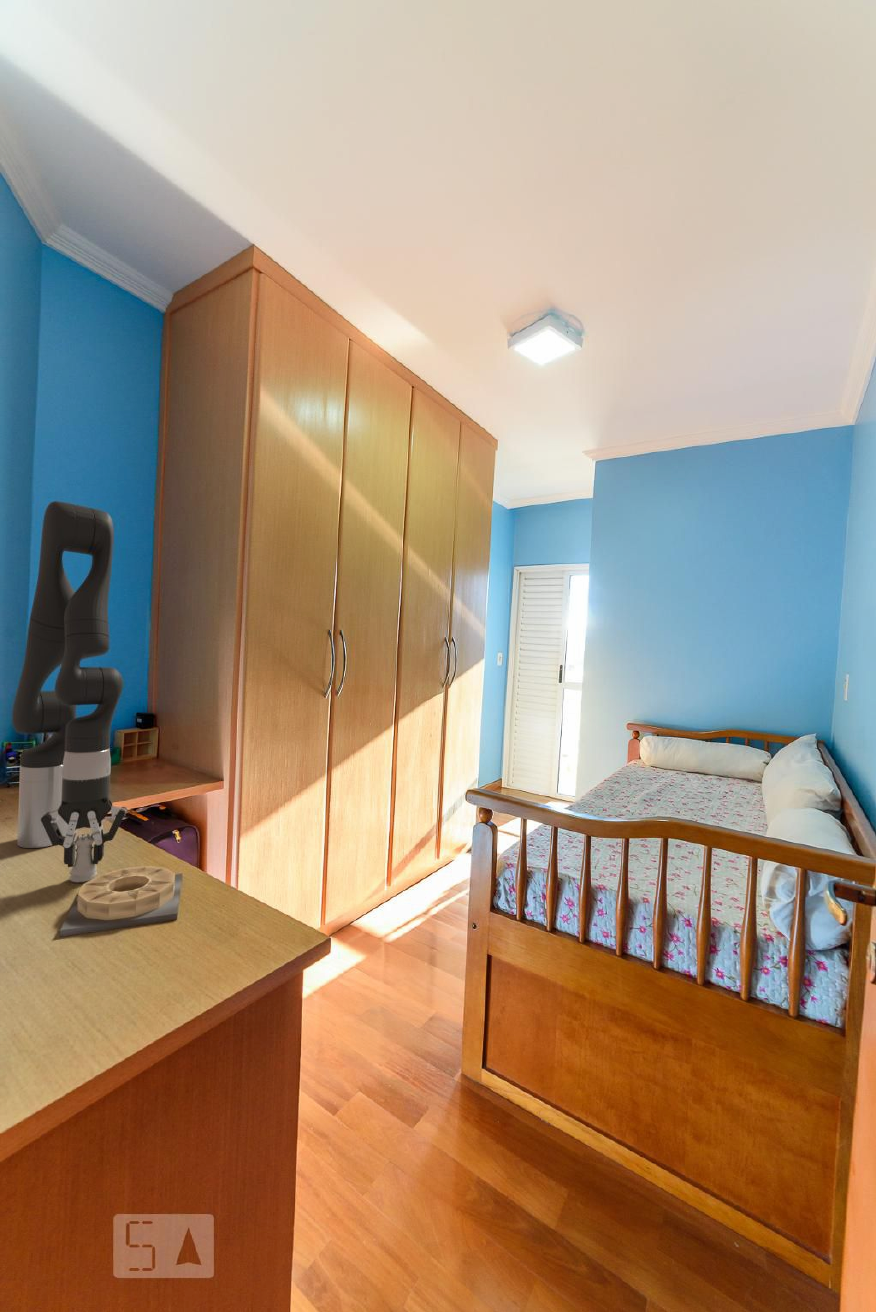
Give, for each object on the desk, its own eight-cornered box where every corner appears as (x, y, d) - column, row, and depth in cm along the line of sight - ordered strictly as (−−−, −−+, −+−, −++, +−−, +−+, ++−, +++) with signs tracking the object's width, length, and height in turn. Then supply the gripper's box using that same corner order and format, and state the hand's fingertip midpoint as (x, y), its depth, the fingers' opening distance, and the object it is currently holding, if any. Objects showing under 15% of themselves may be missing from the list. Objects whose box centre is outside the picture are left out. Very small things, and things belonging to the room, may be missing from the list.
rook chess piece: (83, 884, 96) (84, 841, 96) (62, 881, 97) (64, 838, 97) (103, 874, 100) (104, 833, 100) (83, 871, 101) (85, 830, 101)
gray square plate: (83, 890, 94) (84, 870, 94) (182, 878, 101) (183, 859, 101) (59, 936, 80) (60, 913, 80) (177, 919, 86) (177, 897, 86)
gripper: (133, 766, 104) (129, 852, 105) (47, 770, 99) (44, 861, 99) (127, 776, 98) (123, 867, 98) (34, 780, 92) (31, 877, 92)
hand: (83, 863), depth 98 cm, fingers closed on rook chess piece, 3 cm apart
